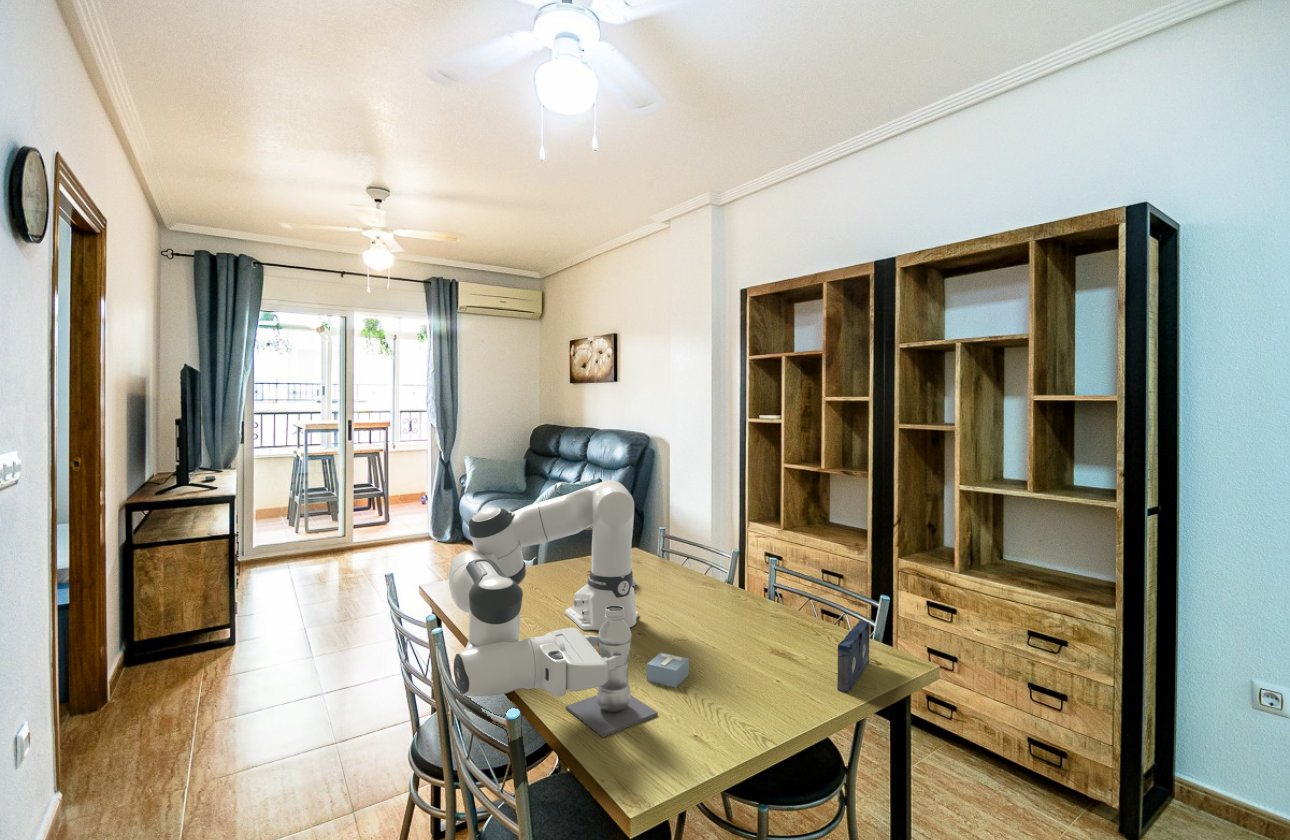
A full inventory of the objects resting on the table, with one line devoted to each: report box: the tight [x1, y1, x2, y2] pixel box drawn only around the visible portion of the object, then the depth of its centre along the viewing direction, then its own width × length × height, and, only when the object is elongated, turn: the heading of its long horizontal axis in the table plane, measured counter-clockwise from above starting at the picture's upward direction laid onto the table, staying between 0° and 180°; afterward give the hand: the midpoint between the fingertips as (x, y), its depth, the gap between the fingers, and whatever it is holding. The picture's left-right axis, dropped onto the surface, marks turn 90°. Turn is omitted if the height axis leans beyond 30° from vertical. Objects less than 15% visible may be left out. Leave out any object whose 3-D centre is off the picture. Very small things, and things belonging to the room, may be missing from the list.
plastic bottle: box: [596, 605, 632, 712], centre depth 118 cm, size 6×7×20 cm
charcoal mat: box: [565, 694, 659, 738], centre depth 118 cm, size 13×13×1 cm
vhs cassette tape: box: [836, 620, 871, 694], centre depth 136 cm, size 18×3×10 cm, turn 145°
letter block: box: [646, 652, 690, 689], centre depth 134 cm, size 7×7×4 cm
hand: (614, 649), depth 118 cm, fingers open, 8 cm apart
